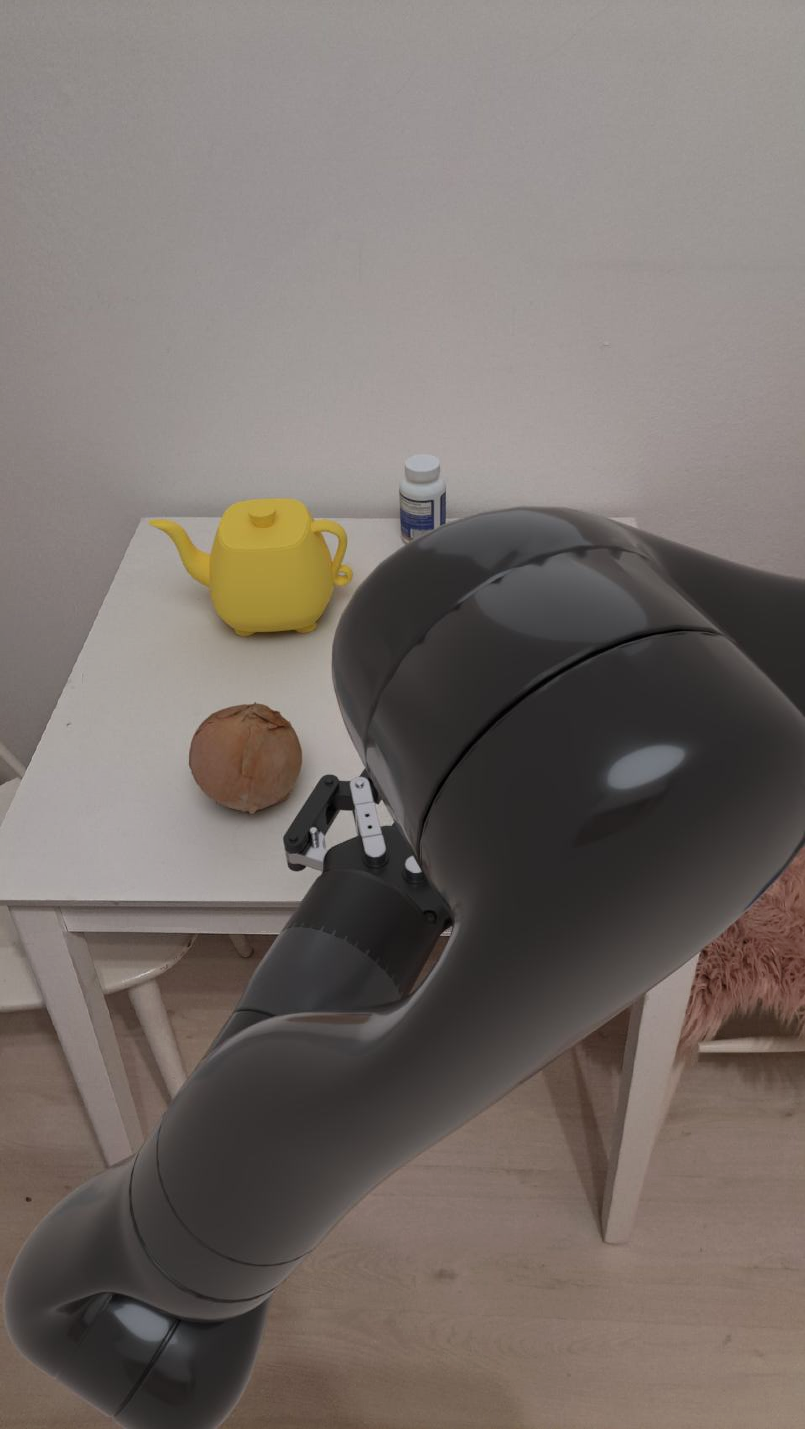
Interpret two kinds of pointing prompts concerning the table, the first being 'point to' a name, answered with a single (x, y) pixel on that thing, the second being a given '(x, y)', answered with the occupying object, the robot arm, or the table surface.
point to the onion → (246, 757)
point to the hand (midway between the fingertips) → (458, 772)
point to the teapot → (266, 565)
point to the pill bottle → (421, 497)
